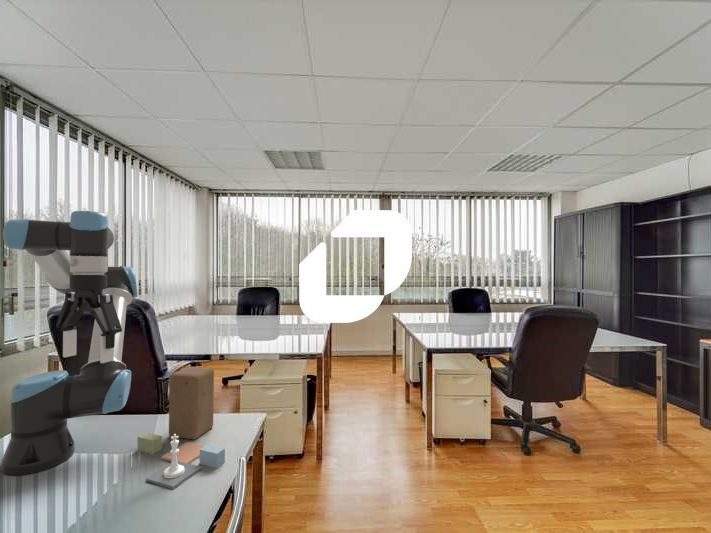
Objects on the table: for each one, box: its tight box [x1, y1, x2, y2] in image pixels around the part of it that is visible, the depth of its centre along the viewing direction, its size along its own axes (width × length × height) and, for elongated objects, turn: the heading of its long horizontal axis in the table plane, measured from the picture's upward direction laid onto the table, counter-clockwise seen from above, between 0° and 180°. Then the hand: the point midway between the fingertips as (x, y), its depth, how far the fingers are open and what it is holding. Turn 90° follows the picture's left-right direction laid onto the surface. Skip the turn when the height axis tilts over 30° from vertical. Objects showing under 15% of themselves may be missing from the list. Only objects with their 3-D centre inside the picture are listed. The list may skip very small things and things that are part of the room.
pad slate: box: [145, 461, 202, 490], centre depth 92 cm, size 9×9×1 cm
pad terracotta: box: [161, 441, 205, 464], centre depth 102 cm, size 9×9×1 cm
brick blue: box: [199, 444, 226, 469], centre depth 98 cm, size 6×3×4 cm, turn 70°
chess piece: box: [163, 434, 185, 478], centre depth 92 cm, size 5×5×10 cm
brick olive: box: [136, 431, 163, 455], centre depth 104 cm, size 6×3×4 cm, turn 70°
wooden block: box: [168, 365, 215, 440], centre depth 116 cm, size 10×10×20 cm
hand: (87, 358), depth 89 cm, fingers open, 13 cm apart
